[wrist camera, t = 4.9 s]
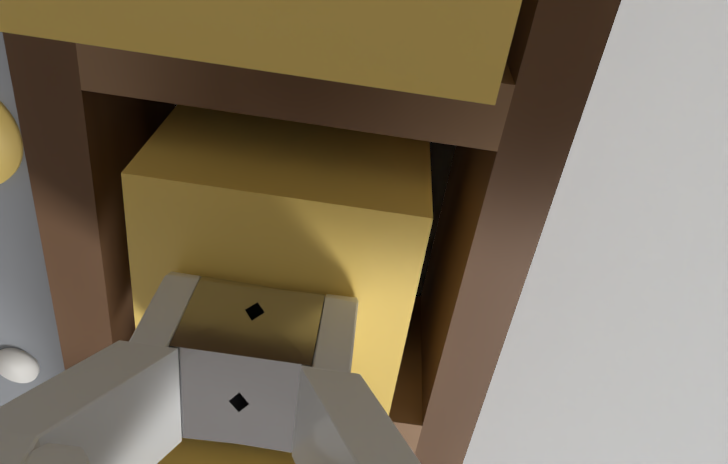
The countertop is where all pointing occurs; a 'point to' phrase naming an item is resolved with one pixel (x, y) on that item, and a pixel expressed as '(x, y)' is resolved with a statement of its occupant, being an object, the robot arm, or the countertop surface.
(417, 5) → the yellow cube
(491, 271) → the wooden compartment tray
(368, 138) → the yellow cube
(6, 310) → the pattern card
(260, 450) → the yellow cube
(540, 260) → the countertop surface
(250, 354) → the robot arm
